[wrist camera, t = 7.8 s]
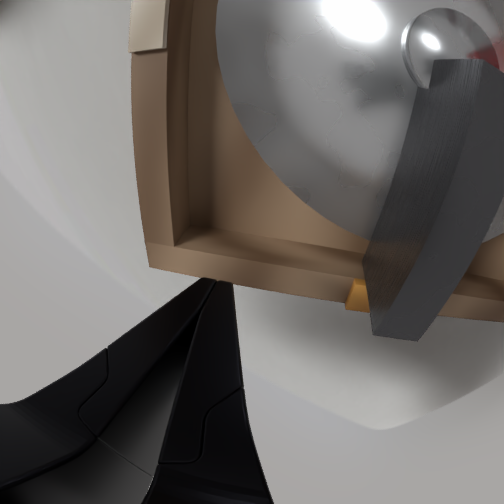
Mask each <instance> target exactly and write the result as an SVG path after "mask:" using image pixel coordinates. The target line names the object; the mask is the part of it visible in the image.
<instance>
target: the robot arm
mask: <svg viewBox="0 0 504 504" xmlns="http://www.w3.org/2000/svg"><path fill="white" fill-rule="evenodd" d="M152 476H154V477H152ZM152 479H153V480H152ZM151 481H152V482H151ZM150 484H151V485H150ZM149 486H150V488H149ZM148 488H149V490H148ZM147 491H148V492H147ZM146 493H147V494H146ZM0 504H274V502H273V499H272V497H271V494H270V491H269V488H268V485H267V482H266V479H265V476H264V472H263V469H262V467H261V463H260V460H259V457H258V453H257V450H256V447H255V444H254V440H253V436H252V432H251V428H250V424H249V418H248V413H247V407H246V399H245V391H244V384H243V375H242V366H241V357H240V348H239V339H238V329H237V319H236V310H235V300H234V289H233V283H232V282H228V281H223V280H219V281H217V280H216V279H212V278H207V277H202V278H200V279H199V280H198V281H196V282H195V283H193V284H192V285H191V286H189V287H188V288H187V289H185V290H184V291H182V292H181V293H180V294H178V295H177V296H176V297H174V298H173V299H171V300H170V301H169V302H167V303H166V304H165V305H163V306H162V307H161V308H159V309H158V310H156V311H155V312H154V313H152V314H151V315H150V316H148V317H147V318H145V319H144V320H143V321H141V322H140V323H139V324H137V325H136V326H135V327H133V328H132V329H130V330H129V331H128V332H126V333H125V334H124V335H122V336H121V337H120V338H118V339H117V340H116V341H114V342H113V343H112V344H110V345H109V346H108V349H107V348H105V349H103V350H102V351H101V352H99V353H98V354H96V355H95V356H94V357H92V358H91V359H89V360H88V361H87V362H85V363H84V364H82V365H81V366H79V367H78V368H76V369H75V370H73V371H71V372H70V373H68V374H67V375H65V376H63V377H62V378H60V379H58V380H57V381H55V382H53V383H52V384H50V385H48V386H46V387H45V388H43V389H41V390H39V391H38V392H36V393H34V394H32V395H31V396H29V397H27V398H25V399H23V400H20V401H17V402H14V403H9V404H0Z"/></svg>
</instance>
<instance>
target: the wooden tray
mask: <svg viewBox="0 0 504 504" xmlns="http://www.w3.org/2000/svg"><path fill="white" fill-rule="evenodd" d="M217 4H218V0H132V3H131V14H130V27H129V46H128V53H132V59H131V100H132V126H133V143H134V156H135V168H136V178H137V187H138V196H139V204H140V211H141V219H142V225H143V232H144V238H145V244H146V250H147V256H148V262H149V267H151V268H156V269H161V270H165V271H170V272H175V273H180V274H185V275H190V276H195V277H200V278H202V277H207V278H212V279H216V280H217V281H219V280H223V281H228V282H232V283H233V284H236V285H241V286H247V287H252V288H257V289H263V290H269V291H274V292H280V293H286V294H292V295H298V296H304V297H310V298H316V299H322V300H329V301H335V302H341V303H345V309H346V310H353V311H360V312H367V313H370V309H369V302H368V295H367V289H366V283H365V277H364V272H363V266H362V259H363V257H364V254H365V252H366V249H367V247H368V244H369V242H370V241H369V240H366V239H364V238H362V237H360V236H358V235H355V234H353V233H351V232H349V231H347V230H344V229H343V228H341V227H339V226H338V225H336V224H334V223H333V222H331V221H329V220H328V219H326V218H324V217H323V216H321V215H320V214H319V213H318V212H316V211H315V210H314V209H312V208H311V207H310V206H308V205H307V204H306V203H304V202H303V201H302V200H301V199H300V198H299V197H297V196H296V195H295V194H294V193H293V192H292V191H291V190H290V189H289V188H288V187H287V186H286V185H285V184H284V183H283V182H282V181H281V180H280V179H279V178H278V177H277V176H276V174H275V173H274V172H273V171H272V170H271V168H270V167H269V166H268V165H267V164H266V163H265V162H264V160H263V159H262V157H261V156H260V154H259V153H258V151H257V150H256V149H255V147H254V146H253V144H252V143H251V141H250V140H249V138H248V137H247V135H246V133H245V131H244V129H243V127H242V125H241V123H240V122H239V120H238V118H237V116H236V114H235V112H234V110H233V107H232V104H231V102H230V99H229V96H228V94H227V91H226V89H225V86H224V83H223V78H222V74H221V70H220V65H219V61H218V56H217V44H216V32H215V29H216V15H217ZM438 316H447V317H456V318H465V319H475V320H485V321H496V322H504V233H502V234H500V235H498V236H496V237H494V238H492V239H490V240H488V241H486V242H483V243H481V245H480V247H479V249H478V251H477V253H476V255H475V256H474V258H473V260H472V262H471V263H470V265H469V267H468V269H467V270H466V272H465V274H464V275H463V277H462V279H461V280H460V282H459V283H458V285H457V287H456V288H455V290H454V291H453V293H452V294H451V296H450V297H449V299H448V300H447V302H446V303H445V305H444V306H443V308H442V309H441V311H440V312H439V313H438Z"/></svg>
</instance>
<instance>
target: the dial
mask: <svg viewBox="0 0 504 504" xmlns="http://www.w3.org/2000/svg"><path fill="white" fill-rule="evenodd" d="M215 32H216V44H217V56H218V61H219V65H220V70H221V74H222V78H223V83H224V86H225V89H226V91H227V94H228V96H229V99H230V102H231V104H232V107H233V110H234V112H235V114H236V116H237V118H238V120H239V122H240V123H241V125H242V127H243V129H244V131H245V133H246V135H247V137H248V138H249V140H250V141H251V143H252V144H253V146H254V147H255V149H256V150H257V151H258V153H259V154H260V156H261V157H262V159H263V160H264V162H265V163H266V164H267V165H268V166H269V167H270V168H271V170H272V171H273V172H274V173H275V174H276V176H277V177H278V178H279V179H280V180H281V181H282V182H283V183H284V184H285V185H286V186H287V187H288V188H289V189H290V190H291V191H292V192H293V193H294V194H295V195H296V196H297V197H299V198H300V199H301V200H302V201H303V202H304V203H306V204H307V205H308V206H310V207H311V208H312V209H314V210H315V211H316V212H318V213H319V214H320V215H321V216H323V217H324V218H326V219H328V220H329V221H331V222H333V223H334V224H336V225H338V226H339V227H341V228H343V229H344V230H347V231H349V232H351V233H353V234H355V235H358V236H360V237H362V238H364V239H366V240H369V241H370V242H369V244H368V247H367V249H366V252H365V254H364V257H363V259H362V266H363V272H364V277H365V283H366V289H367V295H368V302H369V309H370V316H371V324H372V332H373V335H376V336H383V337H390V338H396V339H404V340H411V341H418V340H419V339H420V338H421V336H422V335H423V334H424V332H425V331H426V330H427V328H428V327H429V326H430V324H431V323H432V322H433V320H434V319H435V318H436V316H437V315H438V313H439V312H440V311H441V309H442V308H443V306H444V305H445V303H446V302H447V300H448V299H449V297H450V296H451V294H452V293H453V291H454V290H455V288H456V287H457V285H458V283H459V282H460V280H461V279H462V277H463V275H464V274H465V272H466V270H467V269H468V267H469V265H470V263H471V262H472V260H473V258H474V256H475V255H476V253H477V251H478V249H479V247H480V245H481V243H483V242H486V241H488V240H490V239H492V238H494V237H496V236H498V235H500V234H502V233H504V0H218V4H217V15H216V29H215Z"/></svg>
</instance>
